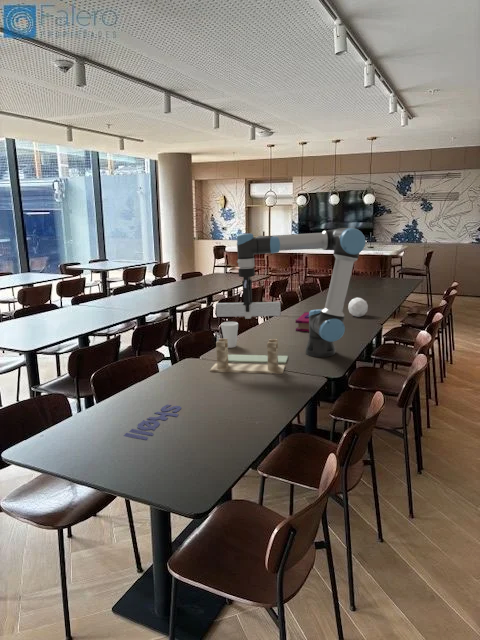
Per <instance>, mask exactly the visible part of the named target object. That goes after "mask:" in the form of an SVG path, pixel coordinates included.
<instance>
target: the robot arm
mask: <svg viewBox="0 0 480 640" xmlns="http://www.w3.org/2000/svg"><path fill="white" fill-rule="evenodd" d="M365 247H366V236H365V235H364V234H363V232H362V231H361V230H359V229H357V228H354V227H338V228H334V229H328V230H323V231H322V232H312V233H311V232H309V233H296V234H278V235H277V234H276V235H275V234H273V235H258V236H256V237H254V234H253V233H240V234H239V233H238V235H237V236H236V248H237V251H236V252H237V260H236V263H237V266H238V271H237V272H238V277H239V278H243V280H242V282H241V285H242V296H243V298H242V299H243V303H244V304H243V305H245V316H244V319H247V320H248V319H252V317H253V316H251V305H250V302H254V300H253V290H252V289H253V287H252V286H253V285H252V283H253V280H252V279H251V277H254V276H256V269H255V265H256V264H255V255H262V254H263V255H264V254H265V255H267V254H277V253H279V252H280V251H283V252H284V251H295V250H296V251H297V250H298V251H300V250H301V251H302V250H316V249H317V250H318V249H319V250H320V249H322V250H323V251H333V256H334V259H335V260H334V265H333V270H332V275H331V279H330V283H329V288H328V292H327V296H326V300H325V304H324V307H323V308H319V309H310V310H309V311H308V312H309V332H308V336H309V337H308V341H307V343H306V347H305V354H307V355H308V356H311V357H318V358H324V357H332V356H334V355H335V354H336V347H335V344H334V342H336V341H339V340H340V339H341V338H342V337H343V336H344V335H345V331H346V330H345V329H346V327H345V324H344V322H345V321H344V320H345V313H344V312H343V310H344V305H345V303H346V302H345V301H346V297H347V293H348V288H349V284H350V280H351V275H352V271H353V268H354V263H355V262H356V261H358V259H359V257H360V253H361V252H362V251H363V250H364V249H365Z"/></svg>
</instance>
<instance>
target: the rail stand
mask: <svg viewBox="0 0 480 640" xmlns="http://www.w3.org/2000/svg"><path fill="white" fill-rule="evenodd" d="M278 346H279V342H278V339H277V338H269V339H268V341H267V343H266V347H267V348H266V349H267V350H266V351H267V354H266V355H268V363H267V364H265V363H260V364H259V363H258V364H257V363H254V364H253V363H249V364H248V363H229V362H228V355H229V348H228V338H223V337H222V338H220V337H219V338H218V341H216V342H215V350H216V362H215V363H214V364H213V365H212V367H211V368H210V369H209V371H210V373H239V374H240V373H241V374H242V373H244V374H272V373H276V374H275V375H277V374H279V375H281V374H282V375H283V373H284V371H285V368H286V365H285V364H279V363H278V356H279V351H278V350H279V349H278V348H279V347H278Z"/></svg>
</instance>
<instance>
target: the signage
mask: <svg viewBox="0 0 480 640" xmlns="http://www.w3.org/2000/svg"><path fill="white" fill-rule="evenodd" d="M181 410H182V406H181V405H175V406H172V405H171V404H166V405H164V406H162V407H161V408H160V411H156V412H154V415H158V416H155V417H154V416H149V417H147V418H146V419H143V420H142V421H141V422H139V423H138V424H137V429H135V428H131V429H130V430H129V431H128V432H126V433H124V435H123V437H126V438H132V439H139V440H144V441H148V439H149V437H150V436H151V437H153V436H154V432H155V430H156V429H157V428H159V426H160V425H161V424H160V423H161V422H159V420H160V421H164V422H165V421H167V420H168V419H169V418H168V417H175V418H177V417H178V416H179V414H178V413H179V412H180V411H181ZM170 411H171V412H170ZM152 424H153V425H152ZM151 430H152V431H153V432H152V431H151ZM150 431H151V432H150ZM143 435H144V436H143ZM148 436H149V437H148Z"/></svg>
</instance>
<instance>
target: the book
mask: <svg viewBox="0 0 480 640" xmlns="http://www.w3.org/2000/svg"><path fill="white" fill-rule="evenodd" d="M309 312H310V311H305V312H303V314H301V315H300V316H299V317H298V318H297V319H295V323H296V324H297V325H298V327H296V328H295V331H296V332H305V331H307V332H308V333H309Z"/></svg>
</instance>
